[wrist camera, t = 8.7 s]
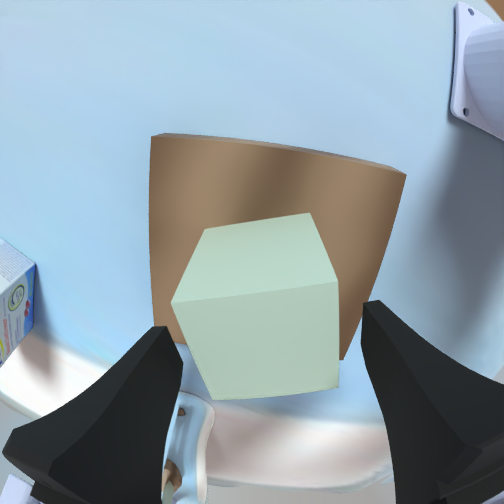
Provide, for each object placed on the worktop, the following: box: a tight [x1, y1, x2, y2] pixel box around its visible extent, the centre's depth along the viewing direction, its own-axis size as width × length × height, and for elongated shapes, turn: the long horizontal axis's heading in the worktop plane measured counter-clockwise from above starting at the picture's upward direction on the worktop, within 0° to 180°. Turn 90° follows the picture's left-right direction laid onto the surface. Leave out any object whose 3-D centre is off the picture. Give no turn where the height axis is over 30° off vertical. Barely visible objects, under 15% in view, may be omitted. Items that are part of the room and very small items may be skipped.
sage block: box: [171, 213, 339, 400], centre depth 12 cm, size 5×5×6 cm
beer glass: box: [161, 391, 215, 504], centre depth 18 cm, size 7×7×15 cm
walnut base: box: [149, 133, 406, 360], centre depth 16 cm, size 12×12×2 cm
